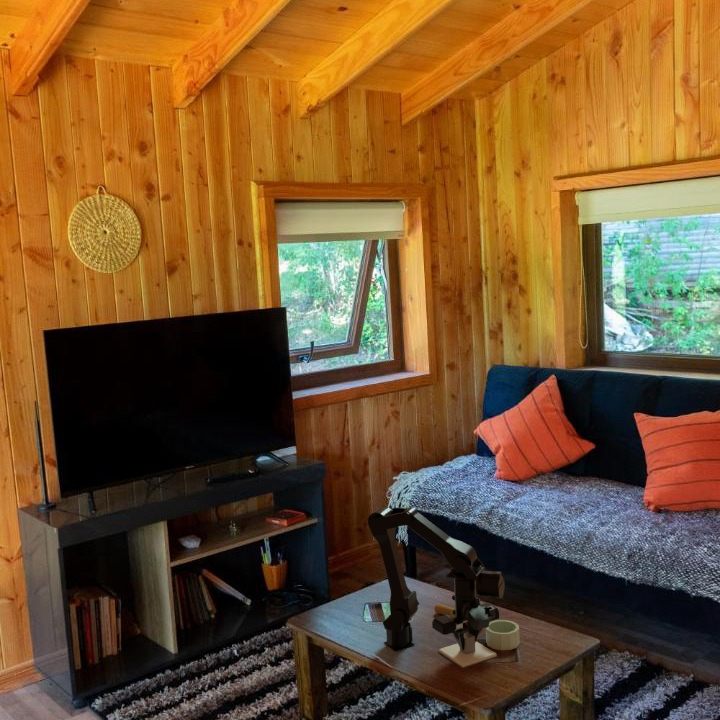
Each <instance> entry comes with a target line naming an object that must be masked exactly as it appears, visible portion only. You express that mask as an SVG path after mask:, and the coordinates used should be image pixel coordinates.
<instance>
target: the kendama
mask: <svg viewBox="0 0 720 720" xmlns="http://www.w3.org/2000/svg"><path fill="white" fill-rule="evenodd" d="M453 610H455V608H453V607H452V606H451V607H450V606H447V605H443V604H441V603H436V604H435V605H434V613H436V614H437V615H445V616H449V618H450V619H451V618H454V617H456V615H454V614H453ZM464 625H466V626H467V627H468V625H467V622H464Z"/></svg>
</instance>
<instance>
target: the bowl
mask: <svg viewBox="0 0 720 720" xmlns="http://www.w3.org/2000/svg"><path fill="white" fill-rule="evenodd" d="M520 640H521V639H520V626H519V624H518V623H516V622H514V621H512V620H506V619H496V620H493V621H490V623H489V627H487V628H485V641H486V642H485V643H486V645H487V646H488V648H491V649H493V650H498V651H511V650H514V649H516V648H518V647H519V646H520V643H521V642H520ZM487 646H486V647H487Z"/></svg>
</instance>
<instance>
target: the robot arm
mask: <svg viewBox="0 0 720 720" xmlns="http://www.w3.org/2000/svg"><path fill="white" fill-rule="evenodd" d="M366 520H367V521H366V522H367V526H368V528H369V531H370V534H371V536H372V537H373V539H375V541H376V542H377V543H378V546H379V551H380V554H381V558H382V562H383V566H384V570H385V574H386V578H387V582H388V586H389V590H390V597H389V598H390V599H389V615H388V616H387V618H385V619H384V620H383V622H382V626H383V627H384V630H385V631H386V641H384V642H383V644H384V645H386V646H387V647H388V648H389V649H391V651H394V652H399V651H403V650H405V649H409V648H412V647H415V643H414V642H413V627H411V626H412V625H411V623H410V621H411V620H412V618H413V617H414V616H415V615H416V613H417V612H418V609H419V607H418V606H419V605H420V602H419V601H418V597H417V591H416V590H413V591H411V590H410V588H409V586H408V585H407V581H406V578H405V574H404V570H403V566H402V562H401V558H400V553H399V549H398V546H397V541H396V530H397V528H398V527H403V526H405V527H406V526H407V527H408V528H409V529H411V530H412V531H413V532H414V533H416V534H417V535H419V537H420V538H422V539H423V540H425V541H426V542H427V543H428V544H430V545H432V546H433V547H434V548H435V549H436V550H438V551H439V552H440V553H441V554H442V556H443V558H444V560H445V561H446V563H447V564H448V565H449V566H450V567H451V570H450V571H449V572H447V574H446V575H445V577H446V578H449V579H453V581H454V583H453V584H454V587H453V588H454V589H453V590H454V595H453V594H452V596H451V599H452V600H453V601H454V607H455V608H454V609H455V610H453V614H454V615H456V617H454V618H451V619H450V617H448V615H445V614H443V615H441V616H437V617H434V618H433V619H432V622H431V626H432V627H431V628H432V629H433V630H435V631H437V632H439V634H441V635H446V636H447V635H450V634H452V635H453V636H454V639H455V640H456V642H457V643H458V645H459V647H460V649H461V650H464V633H466V631H467V632H469V633H470V634H472V635H474V636H475V643H476V642H477V640H478V637H479V633H480V631H481V630H482V629H484V628H485V629H486V628H487V627H489V623H490V622H492V621H495V620H500V618H501V616H500V615H501V613H500V610H499V608H498V607H497V606H494V605H492V604H491V603H489V602H485V603H482V604H480V603H481V601H480V598H479V597H478V596H477V595H479V596H480V597H487V598H495V599H502V598H503V597H504V593H505V582H506V581H505V580H504V577H503V576H502V575H503V574H502V571H498V570H497V571H492V570H491V571H490V570H485V569H486V566H484V563H483V562H482V561H481V560H480V559H479V557H478V554H477V551H476V549H475V548H474V547H473V546H471V545H470V544H467V543H465V542H464V541H461V540H458V539H456V538H453V537H451V536H449V535H448V534H447V533H446V532H444V531H443V530H442V529H440V528H439V527H438V526H436V525H435V524H433V522H431V521H429V520H428V519H427V518H426V517H425V516H424V515H422V514H421V513H419V512H418V510H417V509H416V508H414V507H392V508H391V507H388V506H387V505H386V506H380V507H379V508H378V509H375V511H373V512H371V514H369V516H368V518H367V519H366ZM472 567H473V568H472ZM465 622H467V625H468V626H467V625H466V626H467V629H466V628H464V624H465ZM457 643H456V644H457Z"/></svg>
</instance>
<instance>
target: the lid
mask: <svg viewBox="0 0 720 720" xmlns="http://www.w3.org/2000/svg"><path fill="white" fill-rule="evenodd" d="M438 651H439V652H440V653H442V654H444V655H445V656H447V657H448V658H450V659H451V660H453V661H454V662H456V663H457V664H459V665H460V666H462V667H465V666H468V665H471V664H474V663H477V662H480V661H483V660H486V659H489V658H492V657H495V656H496V655H497V653H496V652H495V651H493V650H491V649H490V648H489V647H487V646H484V645H483V644H482V643H480V642H478V641H476V643H475V636H474V635H472V634H470V633H469V632H468V631H467V632H465V633H464V650H461V649H460V647H459V645H458V643H454V644H451V645H448V646H444V647H442V648H439V649H438Z"/></svg>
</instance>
